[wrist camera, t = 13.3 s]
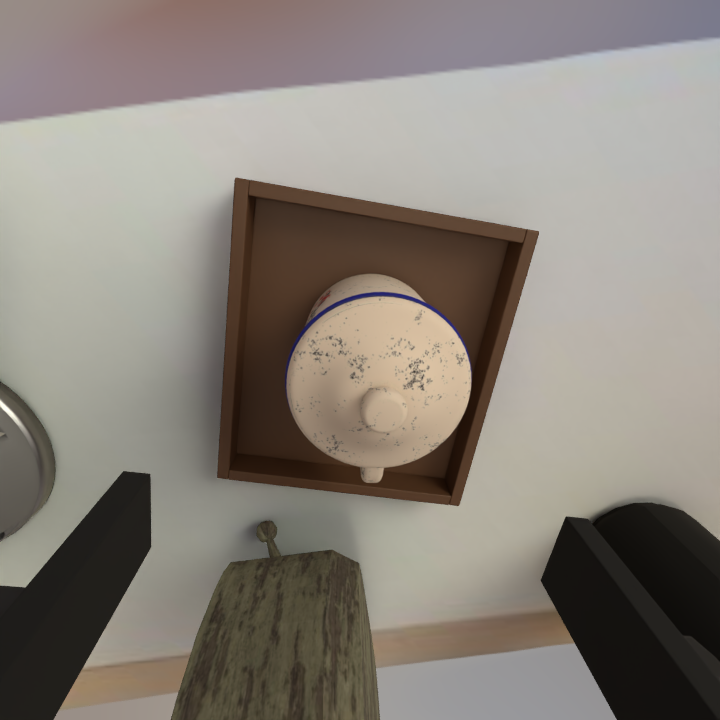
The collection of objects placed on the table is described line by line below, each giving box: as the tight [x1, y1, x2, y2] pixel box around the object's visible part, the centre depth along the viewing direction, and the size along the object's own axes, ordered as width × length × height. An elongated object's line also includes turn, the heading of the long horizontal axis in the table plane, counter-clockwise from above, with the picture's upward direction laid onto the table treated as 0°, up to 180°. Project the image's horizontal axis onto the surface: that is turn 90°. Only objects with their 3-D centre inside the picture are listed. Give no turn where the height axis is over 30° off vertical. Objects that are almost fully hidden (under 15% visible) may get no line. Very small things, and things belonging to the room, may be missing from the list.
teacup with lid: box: [285, 274, 472, 483], centre depth 23 cm, size 12×9×12 cm
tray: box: [217, 178, 539, 506], centre depth 28 cm, size 18×20×3 cm
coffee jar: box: [592, 503, 720, 662], centre depth 27 cm, size 11×11×18 cm
